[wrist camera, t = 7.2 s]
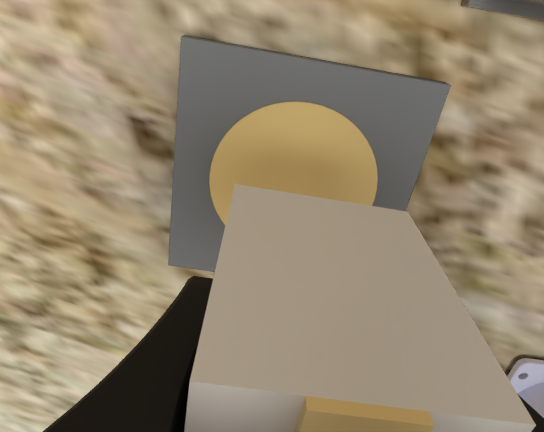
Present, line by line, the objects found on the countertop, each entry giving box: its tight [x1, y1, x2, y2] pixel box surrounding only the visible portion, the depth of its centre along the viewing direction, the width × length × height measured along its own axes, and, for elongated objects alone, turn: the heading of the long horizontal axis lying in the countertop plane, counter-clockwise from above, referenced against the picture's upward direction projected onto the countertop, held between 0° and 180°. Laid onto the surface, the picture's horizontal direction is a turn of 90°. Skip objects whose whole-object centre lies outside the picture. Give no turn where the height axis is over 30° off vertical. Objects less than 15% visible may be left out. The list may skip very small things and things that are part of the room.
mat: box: [168, 35, 451, 272], centre depth 18 cm, size 10×10×1 cm
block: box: [184, 184, 536, 432], centre depth 9 cm, size 4×4×6 cm
